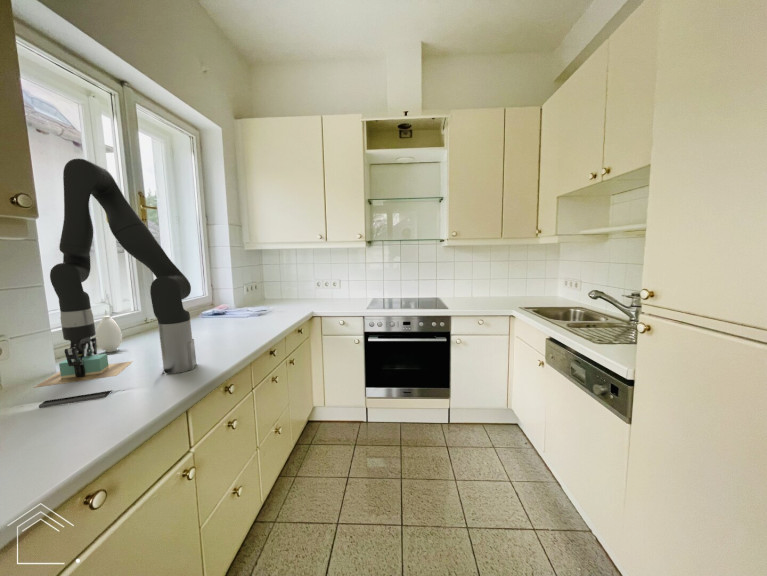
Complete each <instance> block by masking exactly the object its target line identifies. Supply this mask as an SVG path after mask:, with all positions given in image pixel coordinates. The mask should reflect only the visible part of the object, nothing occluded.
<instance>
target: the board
mask: <svg viewBox="0 0 767 576" xmlns="http://www.w3.org/2000/svg"><path fill="white" fill-rule="evenodd" d="M133 362H134V361H133V360H131V361H126V362H117V363H108V366H109V368H108V369H106V370H105V371H104V372H102V373H100V374H93V375H85V376H82V377H70V378H62V379H61V373H60V371H58V372H56V373H55V374H54V375H51V376H50V377H48V378H47V379H44V380H43V381H42V382H39V383H38V384H37V385H35V386H33V388H40V387H47V386H53V385H54V386H55V385H62V384H68V383H73V382H76V383H77V382H82V381H89V380H95V379H103V378H110V377H117V376H118V375H119V374H121V373H122V372H123V371H124V370H125V369H127V368H128V367H129V365H131V364H132V363H133Z"/></svg>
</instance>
